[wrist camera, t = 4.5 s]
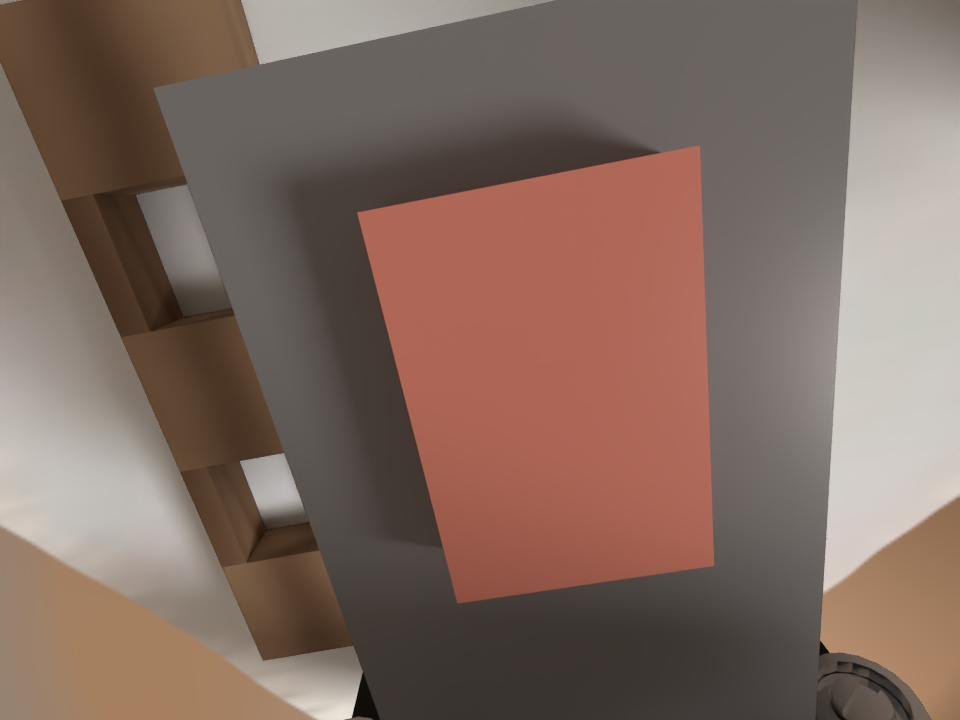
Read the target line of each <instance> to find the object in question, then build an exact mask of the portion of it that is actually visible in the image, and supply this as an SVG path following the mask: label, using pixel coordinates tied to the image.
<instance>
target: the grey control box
mask: <svg viewBox="0 0 960 720" xmlns="http://www.w3.org/2000/svg"><path fill="white" fill-rule="evenodd" d="M856 15H857V0H557V1H552V2H547V3H543V4H538V5H534V6H529V7H524V8H520V9H515V10H511V11H506V12H501V13H497V14H492V15H487V16H483V17H478V18H474V19H469V20H464V21H460V22H455V23H451V24H446V25H441V26H437V27H432V28H428V29H423V30H418V31H414V32H409V33H404V34H400V35H395V36H391V37H386V38H381V39H377V40H372V41H368V42H363V43H358V44H354V45H349V46H344V47H340V48H335V49H331V50H326V51H321V52H317V53H312V54H308V55H303V56H298V57H294V58H289V59H285V60H280V61H275V62H271V63H266V64H261V65H257V66H252V67H248V68H243V69H238V70H234V71H229V72H225V73H220V74H215V75H211V76H206V77H201V78H197V79H192V80H188V81H183V82H178V83H174V84H169V85H165V86H160V87H155V88H153V89H154V92H155V94H156V97H157V100H158V103H159V105H160V108H161V111H162V114H163V117H164V119H165V122H166V125H167V128H168V131H169V133H170V136H171V139H172V142H173V144H174V147H175V150H176V153H177V156H178V158H179V161H180V164H181V167H182V169H183V172H184V175H185V178H186V181H187V183H188V186H189V189H190V192H191V195H192V197H193V200H194V203H195V206H196V208H197V211H198V214H199V217H200V220H201V222H202V225H203V228H204V231H205V233H206V236H207V239H208V242H209V245H210V247H211V250H212V253H213V256H214V259H215V261H216V264H217V267H218V270H219V272H220V275H221V278H222V281H223V284H224V286H225V289H226V292H227V295H228V297H229V300H230V303H231V306H232V309H233V311H234V314H235V317H236V320H237V322H238V325H239V328H240V331H241V334H242V336H243V339H244V342H245V345H246V348H247V350H248V353H249V356H250V359H251V361H252V364H253V367H254V370H255V373H256V375H257V378H258V381H259V384H260V386H261V389H262V392H263V395H264V398H265V400H266V403H267V406H268V409H269V412H270V414H271V417H272V420H273V423H274V425H275V428H276V431H277V434H278V437H279V439H280V442H281V445H282V448H283V450H284V453H285V456H286V459H287V462H288V464H289V467H290V470H291V473H292V476H293V478H294V481H295V484H296V487H297V489H298V492H299V495H300V498H301V501H302V503H303V506H304V509H305V512H306V514H307V517H308V520H309V523H310V526H311V528H312V531H313V534H314V537H315V539H316V542H317V545H318V548H319V551H320V553H321V556H322V559H323V562H324V565H325V567H326V570H327V573H328V576H329V578H330V581H331V584H332V587H333V590H334V592H335V595H336V598H337V601H338V603H339V606H340V609H341V612H342V615H343V617H344V620H345V623H346V626H347V629H348V631H349V634H350V637H351V640H352V642H353V645H354V648H355V651H356V654H357V656H358V659H359V662H360V665H361V667H362V670H363V673H364V676H365V679H366V681H367V684H368V687H369V690H370V692H371V695H372V698H373V701H374V704H375V706H376V709H377V712H378V715H379V718H380V720H815V718H816V701H817V683H818V666H819V649H820V632H821V615H822V598H823V581H824V563H825V546H826V529H827V512H828V495H829V478H830V460H831V443H832V426H833V409H834V392H835V375H836V358H837V340H838V323H839V306H840V289H841V272H842V255H843V238H844V220H845V203H846V186H847V169H848V152H849V135H850V118H851V100H852V83H853V66H854V49H855V32H856Z"/></svg>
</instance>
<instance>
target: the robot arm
mask: <svg viewBox="0 0 960 720" xmlns="http://www.w3.org/2000/svg"><path fill="white" fill-rule="evenodd" d="M346 720H380V718H379V715H378V712H377V709H376V706H375V704H374V701H373V698H372V695H371V692H370V690H369V687H368V684H367V681H366V679H365V676H364V673H363V674H362V678H361V682H360V686H359V690H358V695H357V699H356V703H355V707H354V711H353V715H352V718H350V719H346ZM815 720H932V719H931V718H930V716H929V714H928V712H927V711H926V709H925V707H924V706H923V704H922V702H921V701H920V700H919V698H918V697H917V696H916V695H915V693H914V692H913V691H912V689H911V688H910V687H909V686H908V685H907V684H906V683H904V682H903V681H902V680H901V679H900V678H899V677H898V676H896V675H895V674H894V673H893V672H891V671H889V670H888V669H886V668H884V667H883V666H881V665H879V664H877V663H876V662H873V661H870V660H868V659H865V658H863V657H860V656H856V655H851V654H846V653H829V652H828V650H827V649H826V648H825V646H824V645H823V643H822V642H821V641H820V649H819V666H818V683H817V701H816V718H815Z"/></svg>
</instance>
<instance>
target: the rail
mask: <svg viewBox="0 0 960 720" xmlns="http://www.w3.org/2000/svg"><path fill="white" fill-rule="evenodd" d="M0 62H1V65H2V67H3V69H4V71H5V74H6V76H7V78H8V81H9V83H10V85H11V87H12V90H13V92H14V94H15V96H16V99H17V101H18V103H19V106H20V108H21V110H22V112H23V115H24V117H25V119H26V122H27V124H28V126H29V128H30V131H31V133H32V135H33V137H34V140H35V142H36V144H37V147H38V149H39V151H40V153H41V156H42V158H43V160H44V163H45V165H46V167H47V169H48V172H49V174H50V176H51V179H52V181H53V183H54V185H55V188H56V190H57V192H58V194H59V197H60V199H61V201H62V204H63V206H64V208H65V210H66V213H67V215H68V217H69V220H70V222H71V224H72V226H73V229H74V231H75V233H76V235H77V238H78V240H79V242H80V245H81V247H82V249H83V251H84V254H85V256H86V258H87V261H88V263H89V265H90V267H91V270H92V272H93V274H94V277H95V279H96V281H97V283H98V286H99V288H100V290H101V292H102V295H103V297H104V299H105V302H106V304H107V306H108V308H109V311H110V313H111V315H112V318H113V320H114V322H115V324H116V327H117V329H118V331H119V333H120V336H121V338H122V340H123V343H124V345H125V347H126V349H127V352H128V354H129V356H130V359H131V361H132V363H133V365H134V368H135V370H136V372H137V375H138V377H139V379H140V381H141V384H142V386H143V388H144V390H145V393H146V395H147V397H148V400H149V402H150V404H151V406H152V409H153V411H154V413H155V416H156V418H157V420H158V422H159V425H160V427H161V429H162V431H163V434H164V436H165V438H166V441H167V443H168V445H169V447H170V450H171V452H172V454H173V457H174V459H175V461H176V463H177V466H178V468H179V470H180V473H181V475H182V477H183V479H184V482H185V484H186V486H187V488H188V491H189V493H190V495H191V498H192V500H193V502H194V504H195V507H196V509H197V511H198V514H199V516H200V518H201V520H202V523H203V525H204V527H205V529H206V532H207V534H208V536H209V539H210V541H211V543H212V545H213V548H214V550H215V552H216V555H217V557H218V559H219V561H220V564H221V566H222V568H223V571H224V573H225V575H226V577H227V580H228V582H229V584H230V586H231V589H232V591H233V593H234V596H235V598H236V600H237V602H238V605H239V607H240V609H241V612H242V614H243V616H244V618H245V621H246V623H247V625H248V627H249V630H250V632H251V634H252V637H253V639H254V641H255V643H256V646H257V648H258V650H259V653H260V655H261V657H262V659H263V661H264V660H270V659H276V658H282V657H288V656H294V655H300V654H305V653H311V652H317V651H323V650H329V649H335V648H341V647H347V646H353V642H352V640H351V637H350V634H349V631H348V629H347V626H346V623H345V620H344V617H343V615H342V612H341V609H340V606H339V603H338V601H337V598H336V595H335V592H334V590H333V587H332V584H331V581H330V578H329V576H328V573H327V570H326V567H325V565H324V562H323V559H322V556H321V553H320V551H319V548H318V545H317V542H316V539H315V537H314V534H313V531H312V528H311V526H310V523H305V524H299V525H293V526H288V527H282V528H276V529H271V530H266V528H265V526H264V523H263V521H262V518H261V515H260V513H259V510H258V508H257V505H256V503H255V500H254V498H253V495H252V492H251V490H250V487H249V485H248V482H247V480H246V477H245V475H244V472H243V469H242V467H241V464H240V462H239V461H242V460H248V459H253V458H259V457H264V456H270V455H275V454H281V453H284V450H283V448H282V445H281V442H280V439H279V437H278V434H277V431H276V428H275V425H274V423H273V420H272V417H271V414H270V412H269V409H268V406H267V403H266V400H265V398H264V395H263V392H262V389H261V386H260V384H259V381H258V378H257V375H256V373H255V370H254V367H253V364H252V361H251V359H250V356H249V353H248V350H247V348H246V345H245V342H244V339H243V336H242V334H241V331H240V328H239V325H238V322H237V320H236V317H235V314H234V311H233V309H227V310H222V311H216V312H211V313H206V314H201V315H195V316H190V317H185V318H183V316H182V313H181V311H180V308H179V306H178V303H177V301H176V298H175V296H174V293H173V290H172V288H171V285H170V283H169V280H168V278H167V275H166V273H165V270H164V267H163V265H162V262H161V260H160V257H159V255H158V252H157V249H156V247H155V244H154V242H153V239H152V237H151V234H150V232H149V229H148V226H147V224H146V221H145V219H144V216H143V214H142V211H141V209H140V206H139V203H138V201H137V198H136V196H135V195H136V194H141V193H146V192H151V191H156V190H161V189H166V188H171V187H176V186H181V185H186V184H188V183H187V181H186V178H185V175H184V172H183V169H182V167H181V164H180V161H179V158H178V156H177V153H176V150H175V147H174V144H173V142H172V139H171V136H170V133H169V131H168V128H167V125H166V122H165V119H164V117H163V114H162V111H161V108H160V105H159V103H158V100H157V97H156V94H155V92H154V89H153V88H155V87H160V86H165V85H169V84H174V83H178V82H183V81H188V80H192V79H197V78H201V77H206V76H211V75H215V74H220V73H225V72H229V71H234V70H238V69H243V68H248V67H252V66H257V65H259V61H258V58H257V54H256V51H255V47H254V44H253V41H252V37H251V34H250V30H249V27H248V23H247V20H246V16H245V13H244V9H243V6H242V3H241V0H22V1H18V2H13V3H8V4H4V5H0Z"/></svg>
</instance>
